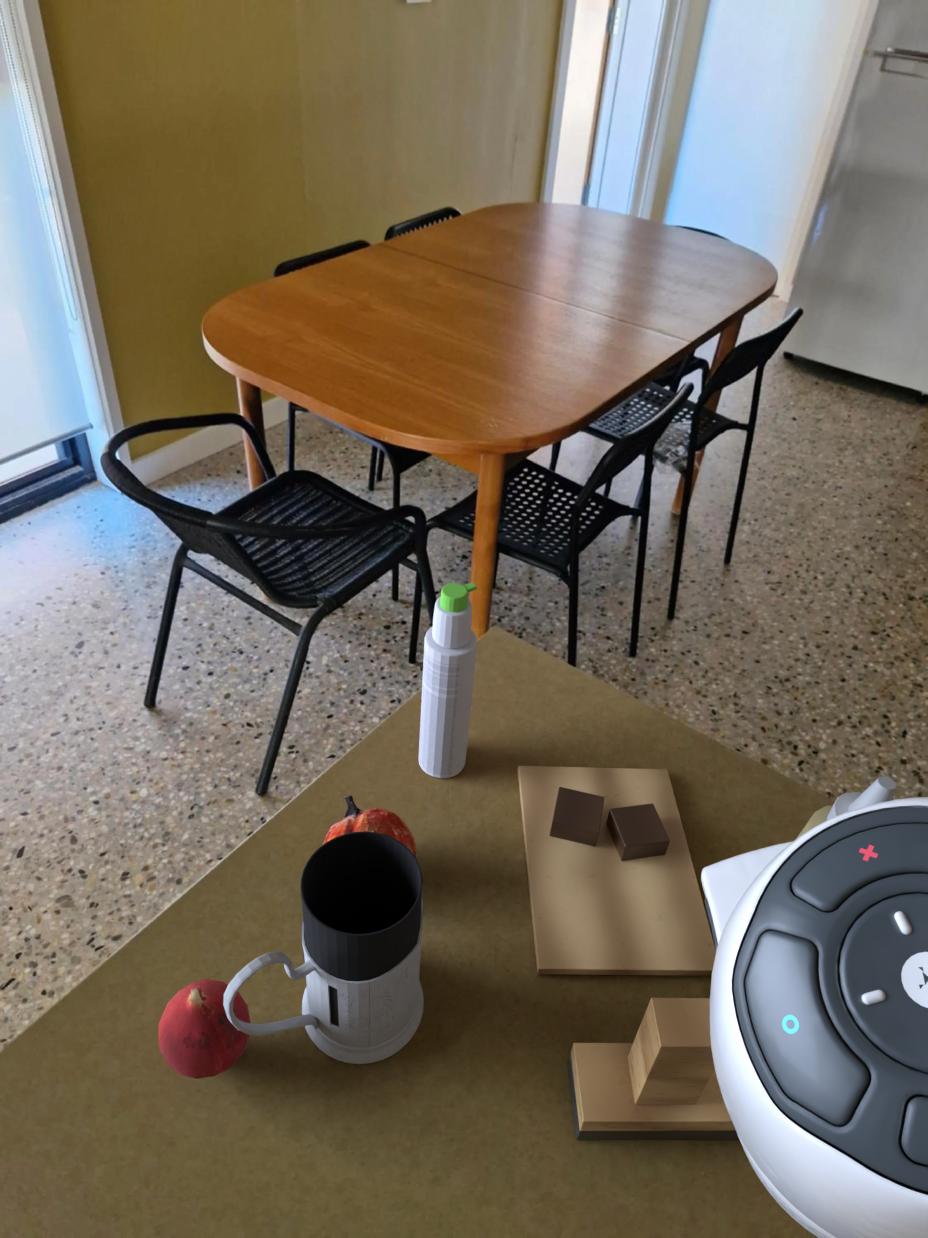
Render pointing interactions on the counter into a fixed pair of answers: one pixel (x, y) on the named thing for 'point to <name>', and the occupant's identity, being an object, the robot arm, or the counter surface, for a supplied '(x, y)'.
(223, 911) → the counter surface
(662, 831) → the dark brown square block
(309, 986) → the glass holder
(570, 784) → the board
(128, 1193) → the counter surface
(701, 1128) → the brush
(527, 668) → the counter surface
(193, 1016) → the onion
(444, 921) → the counter surface
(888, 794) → the squeeze bottle
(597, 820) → the chip
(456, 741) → the bottle
